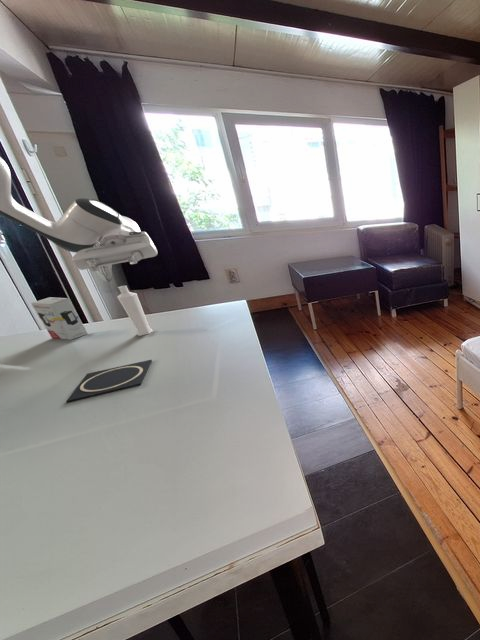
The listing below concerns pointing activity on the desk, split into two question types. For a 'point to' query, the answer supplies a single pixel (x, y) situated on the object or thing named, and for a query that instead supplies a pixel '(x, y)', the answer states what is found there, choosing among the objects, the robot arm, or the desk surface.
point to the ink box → (59, 318)
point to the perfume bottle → (134, 310)
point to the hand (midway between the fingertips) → (113, 265)
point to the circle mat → (110, 380)
